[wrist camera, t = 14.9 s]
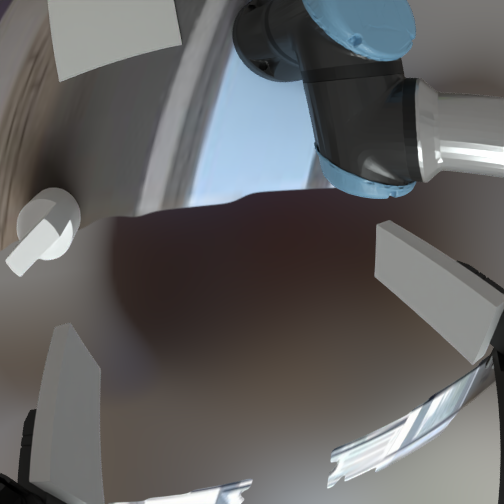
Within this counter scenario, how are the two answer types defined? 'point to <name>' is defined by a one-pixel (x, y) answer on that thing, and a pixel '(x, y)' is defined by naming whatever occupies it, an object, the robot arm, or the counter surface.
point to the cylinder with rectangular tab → (44, 228)
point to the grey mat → (108, 31)
